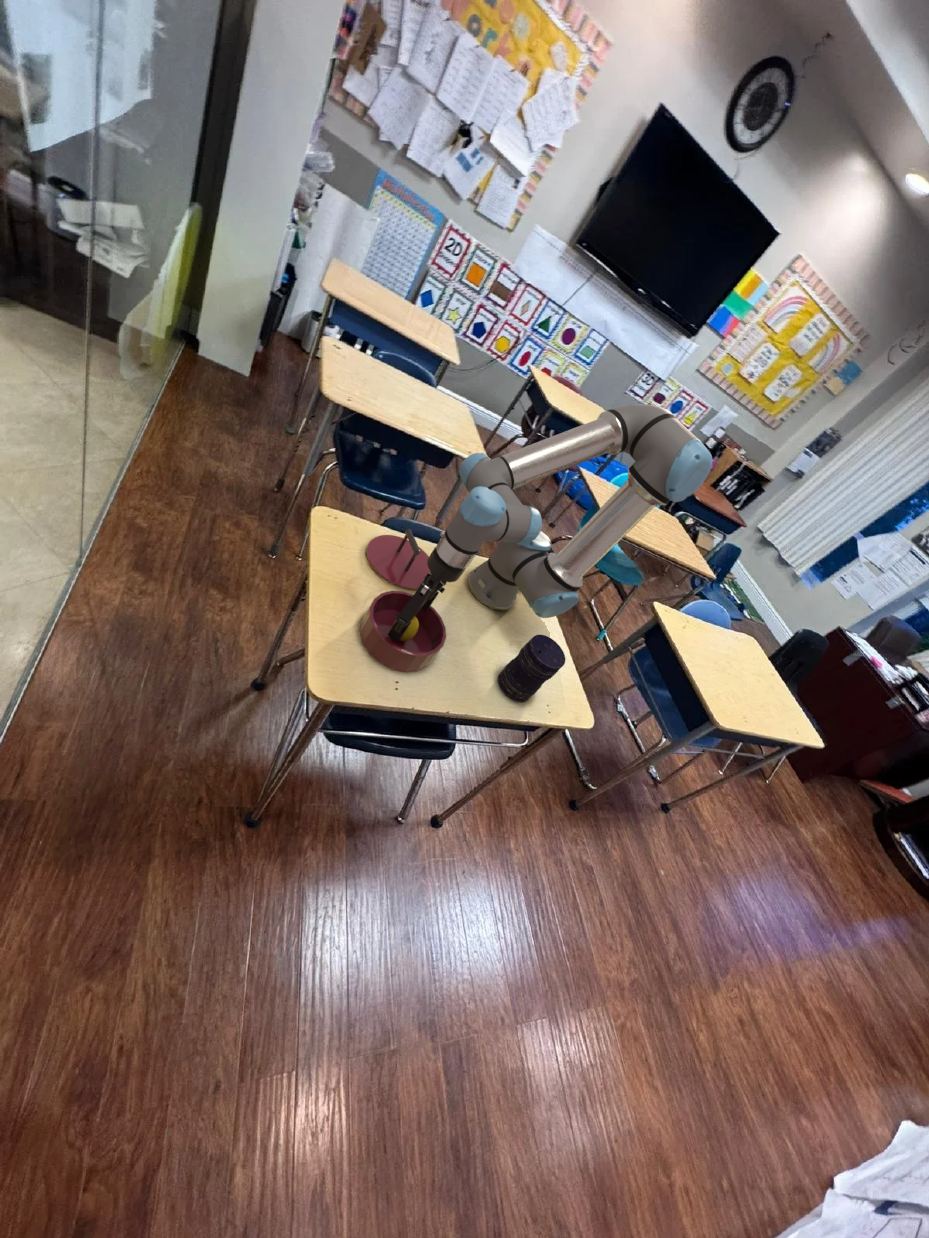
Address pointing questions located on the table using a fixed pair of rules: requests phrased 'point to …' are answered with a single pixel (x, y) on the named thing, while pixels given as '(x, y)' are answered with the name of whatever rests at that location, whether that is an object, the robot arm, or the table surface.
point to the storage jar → (531, 668)
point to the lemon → (410, 630)
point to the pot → (400, 653)
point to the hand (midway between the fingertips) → (408, 622)
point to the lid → (398, 560)
